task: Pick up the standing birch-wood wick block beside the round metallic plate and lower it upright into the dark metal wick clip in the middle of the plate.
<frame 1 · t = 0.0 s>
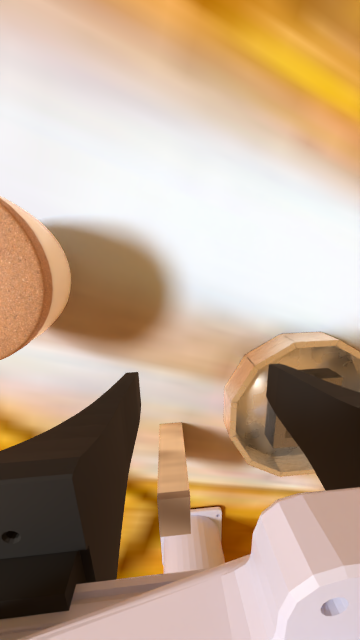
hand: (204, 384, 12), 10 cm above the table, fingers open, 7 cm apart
wood wick: (171, 437, 25), on the table
lidded jar: (29, 272, 19), on the table
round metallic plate: (292, 399, 24), on the table
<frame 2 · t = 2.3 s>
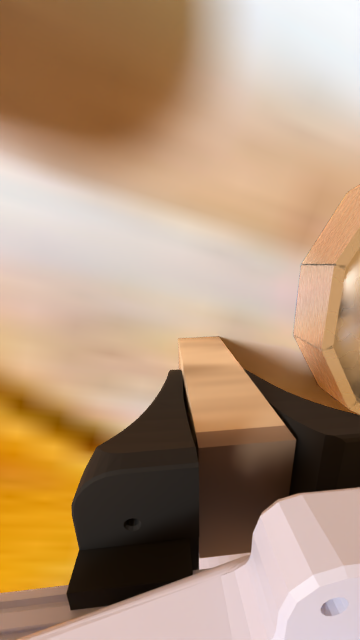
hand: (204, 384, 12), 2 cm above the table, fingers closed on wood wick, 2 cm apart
wood wick: (198, 367, 14), on the table, touching gripper
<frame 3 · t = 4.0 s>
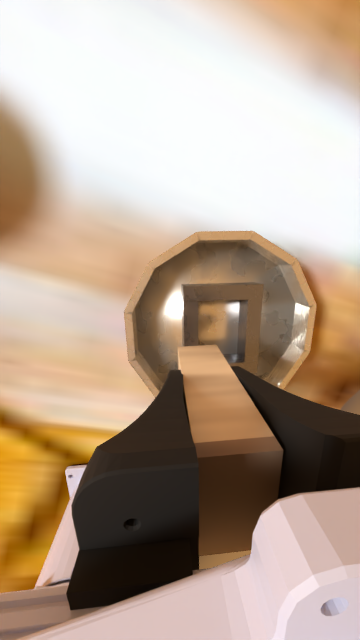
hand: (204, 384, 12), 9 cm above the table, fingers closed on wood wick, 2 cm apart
wood wick: (197, 373, 14), point 7 cm above the table, touching gripper
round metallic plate: (215, 325, 20), on the table
when the fingers open (3 cm above the table, at t = 6.2 s): wood wick stays where it is, resting on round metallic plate.
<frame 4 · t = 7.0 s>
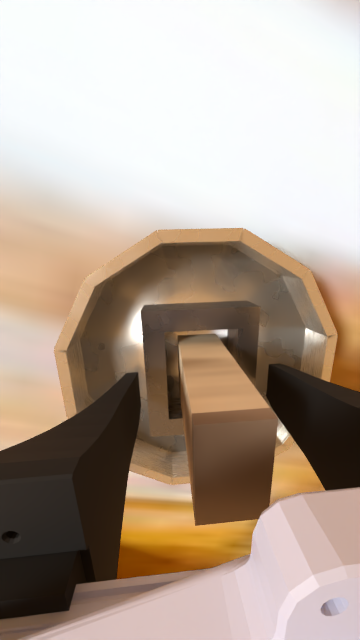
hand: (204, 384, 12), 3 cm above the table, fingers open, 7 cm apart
wood wick: (196, 362, 14), resting on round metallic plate
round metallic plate: (195, 357, 15), on the table
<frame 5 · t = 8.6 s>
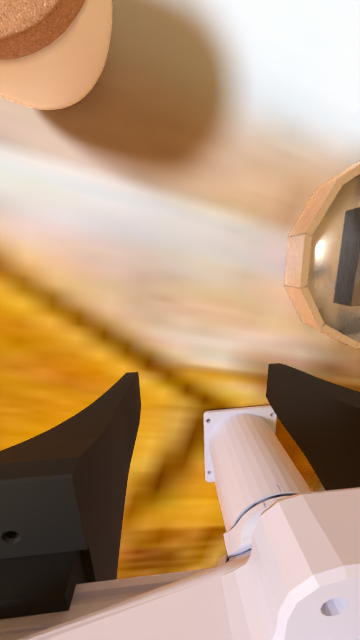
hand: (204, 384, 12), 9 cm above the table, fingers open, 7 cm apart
lidded jar: (52, 54, 15), on the table
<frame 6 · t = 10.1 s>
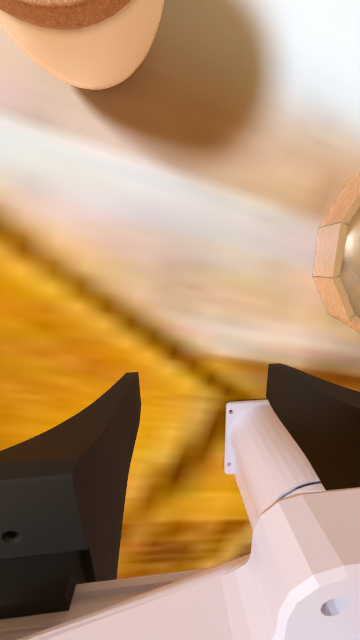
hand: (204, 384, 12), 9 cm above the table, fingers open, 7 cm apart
lidded jar: (94, 35, 15), on the table
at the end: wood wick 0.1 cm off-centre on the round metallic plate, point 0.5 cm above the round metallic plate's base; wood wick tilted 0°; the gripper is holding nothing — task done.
